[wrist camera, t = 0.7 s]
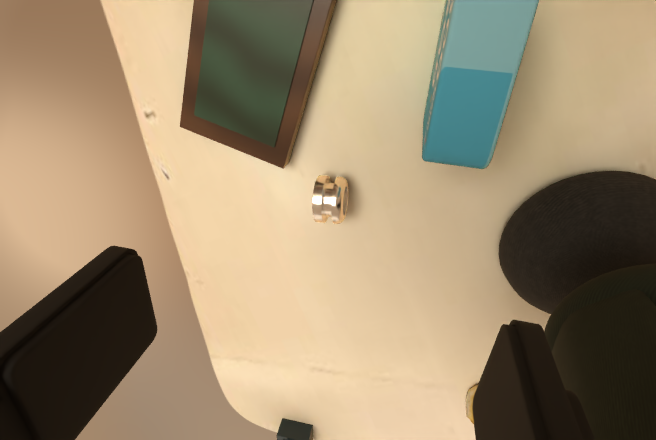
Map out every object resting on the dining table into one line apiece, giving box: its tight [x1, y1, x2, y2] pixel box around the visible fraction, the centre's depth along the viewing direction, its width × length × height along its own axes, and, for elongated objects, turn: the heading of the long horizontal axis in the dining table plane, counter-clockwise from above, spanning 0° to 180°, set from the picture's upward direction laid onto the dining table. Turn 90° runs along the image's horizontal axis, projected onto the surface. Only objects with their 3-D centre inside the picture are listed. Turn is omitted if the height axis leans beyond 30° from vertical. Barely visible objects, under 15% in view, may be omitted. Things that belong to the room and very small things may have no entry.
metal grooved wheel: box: [312, 175, 348, 224], centre depth 41 cm, size 5×3×5 cm, turn 2°
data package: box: [422, 0, 539, 169], centre depth 29 cm, size 12×4×12 cm, turn 177°
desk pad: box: [180, 0, 337, 168], centre depth 37 cm, size 20×12×2 cm, turn 162°
